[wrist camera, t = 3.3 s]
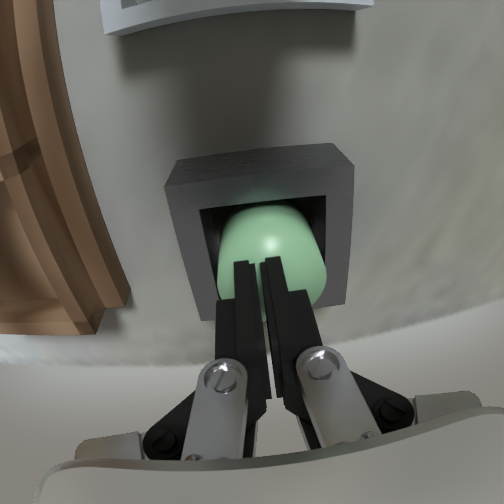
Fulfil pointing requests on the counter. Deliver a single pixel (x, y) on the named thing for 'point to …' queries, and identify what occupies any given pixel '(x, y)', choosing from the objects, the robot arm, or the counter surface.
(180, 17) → the grey square frame
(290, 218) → the button
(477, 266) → the counter surface
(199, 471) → the robot arm
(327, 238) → the switch box
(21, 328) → the brown wooden tray
